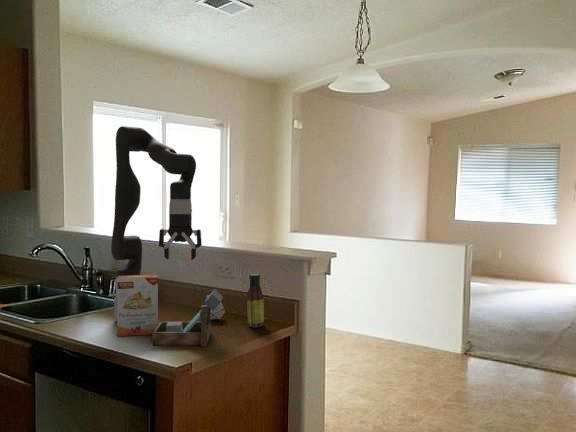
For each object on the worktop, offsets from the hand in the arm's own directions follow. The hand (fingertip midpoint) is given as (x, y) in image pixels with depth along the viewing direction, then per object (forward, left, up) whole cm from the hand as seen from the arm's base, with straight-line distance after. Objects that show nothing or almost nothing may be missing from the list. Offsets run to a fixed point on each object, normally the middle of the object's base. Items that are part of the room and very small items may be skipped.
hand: (180, 259), depth 181 cm
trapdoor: (+8, -1, -20) cm, 22 cm away
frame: (+1, -1, -28) cm, 28 cm away
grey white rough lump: (+10, +25, -28) cm, 39 cm away
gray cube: (+1, -1, -25) cm, 25 cm away
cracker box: (-16, +6, -28) cm, 33 cm away
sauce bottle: (+26, +16, -28) cm, 42 cm away
